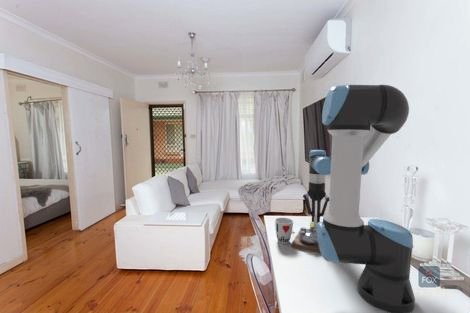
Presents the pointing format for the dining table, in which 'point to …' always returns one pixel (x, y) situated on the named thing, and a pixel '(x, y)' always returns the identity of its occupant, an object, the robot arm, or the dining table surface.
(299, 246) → the base board
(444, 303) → the dining table surface
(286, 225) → the cup
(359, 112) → the robot arm
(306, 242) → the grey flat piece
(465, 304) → the dining table surface
